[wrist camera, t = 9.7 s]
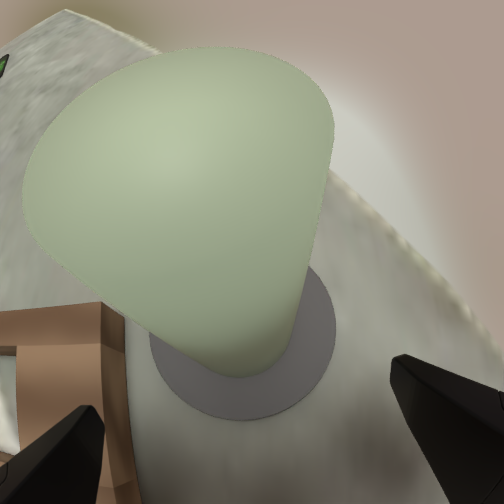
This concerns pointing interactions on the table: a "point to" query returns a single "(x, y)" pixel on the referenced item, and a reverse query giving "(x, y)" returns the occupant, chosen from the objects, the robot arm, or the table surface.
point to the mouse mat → (3, 63)
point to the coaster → (268, 382)
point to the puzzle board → (74, 382)
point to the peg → (190, 198)
